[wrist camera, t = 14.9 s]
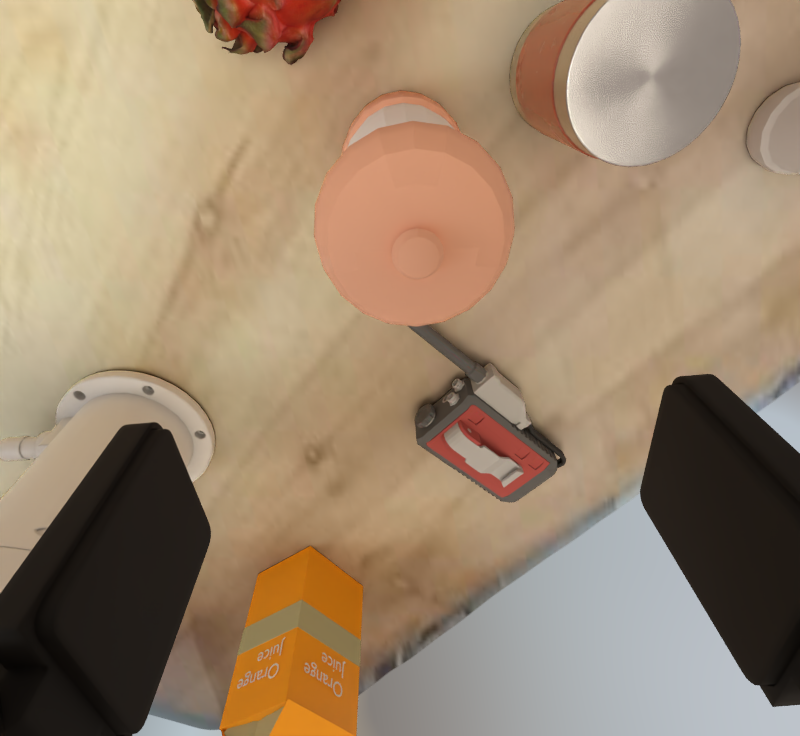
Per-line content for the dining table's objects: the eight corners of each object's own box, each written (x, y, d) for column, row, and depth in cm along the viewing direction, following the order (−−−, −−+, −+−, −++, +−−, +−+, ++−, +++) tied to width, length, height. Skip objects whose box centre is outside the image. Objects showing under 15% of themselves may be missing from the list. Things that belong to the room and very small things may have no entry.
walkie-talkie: (580, 436, 44) (416, 298, 37) (599, 471, 40) (419, 325, 33) (506, 490, 47) (341, 373, 40) (516, 527, 43) (337, 406, 36)
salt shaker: (414, 61, 29) (448, 62, 12) (482, 166, 32) (580, 278, 16) (321, 145, 31) (246, 239, 15) (393, 236, 34) (397, 396, 18)
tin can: (506, 140, 31) (556, 174, 22) (510, 3, 27) (574, -25, 18) (617, 130, 31) (716, 161, 22) (637, -8, 27) (767, -43, 18)
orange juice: (311, 611, 57) (280, 845, 40) (256, 574, 53) (195, 815, 36) (365, 585, 55) (355, 823, 38) (311, 544, 51) (273, 787, 34)
